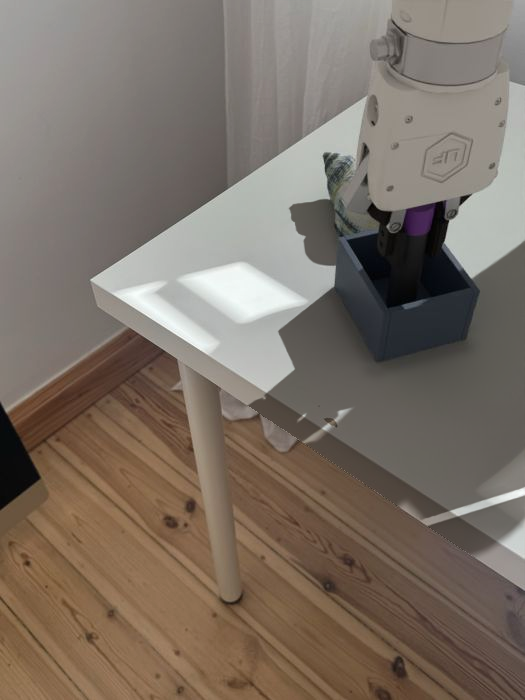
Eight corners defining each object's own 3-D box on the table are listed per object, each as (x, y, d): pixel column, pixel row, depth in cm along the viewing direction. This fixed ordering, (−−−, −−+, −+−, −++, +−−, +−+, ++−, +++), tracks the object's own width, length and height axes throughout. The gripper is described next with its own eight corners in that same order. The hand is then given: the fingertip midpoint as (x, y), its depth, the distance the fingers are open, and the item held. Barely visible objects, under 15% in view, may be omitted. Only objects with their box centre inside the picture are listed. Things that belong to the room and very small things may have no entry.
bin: (415, 270, 72) (425, 217, 67) (465, 343, 66) (480, 290, 61) (333, 290, 71) (337, 237, 66) (376, 367, 64) (384, 314, 59)
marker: (406, 296, 69) (426, 187, 59) (419, 316, 67) (441, 207, 58) (379, 303, 68) (394, 194, 59) (391, 324, 67) (409, 214, 57)
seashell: (348, 269, 75) (333, 196, 82) (418, 242, 73) (396, 169, 80) (325, 227, 70) (311, 153, 78) (399, 196, 68) (377, 124, 76)
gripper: (352, 94, 45) (336, 305, 59) (583, 49, 48) (516, 260, 62) (310, 39, 49) (304, 247, 63) (522, 2, 52) (472, 208, 66)
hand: (409, 252), depth 62 cm, fingers closed on marker, 2 cm apart
